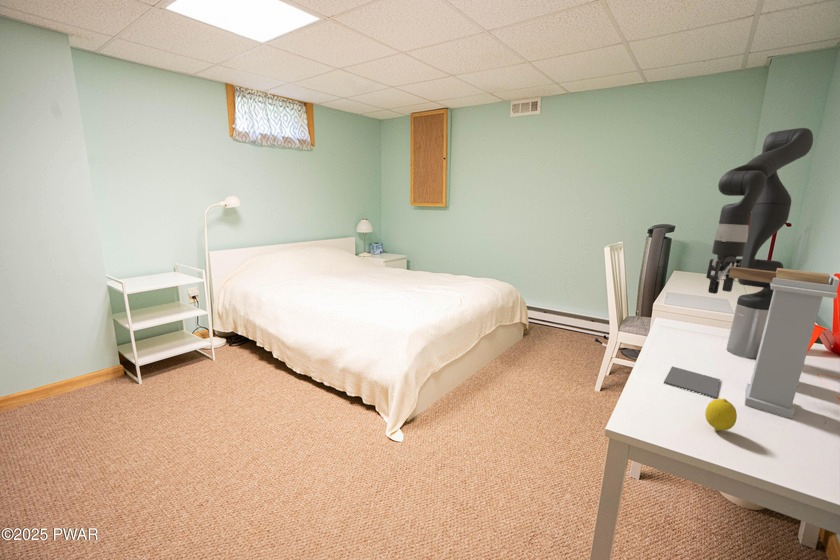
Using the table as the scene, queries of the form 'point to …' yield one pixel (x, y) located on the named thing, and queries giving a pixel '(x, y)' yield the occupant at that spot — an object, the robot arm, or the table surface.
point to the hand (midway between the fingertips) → (719, 292)
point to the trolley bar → (778, 275)
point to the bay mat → (692, 381)
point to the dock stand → (785, 343)
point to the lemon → (721, 414)
